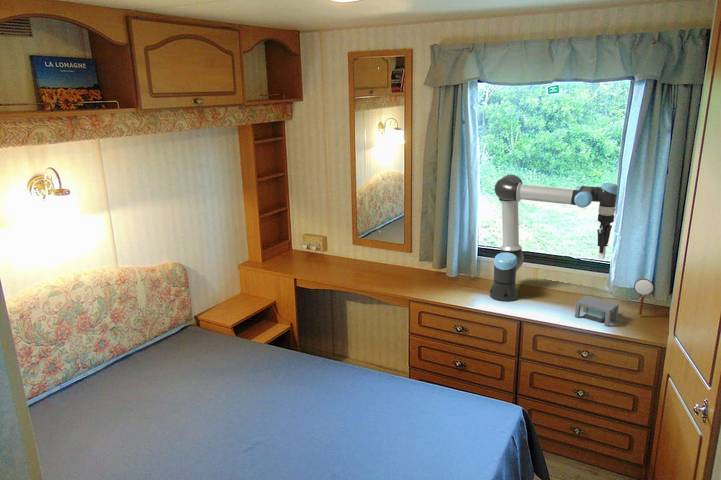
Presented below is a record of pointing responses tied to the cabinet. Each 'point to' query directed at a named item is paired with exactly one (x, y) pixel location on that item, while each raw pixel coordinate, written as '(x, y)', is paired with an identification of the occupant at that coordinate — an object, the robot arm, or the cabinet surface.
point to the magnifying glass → (643, 290)
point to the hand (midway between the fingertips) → (601, 258)
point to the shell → (596, 313)
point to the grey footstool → (597, 308)
